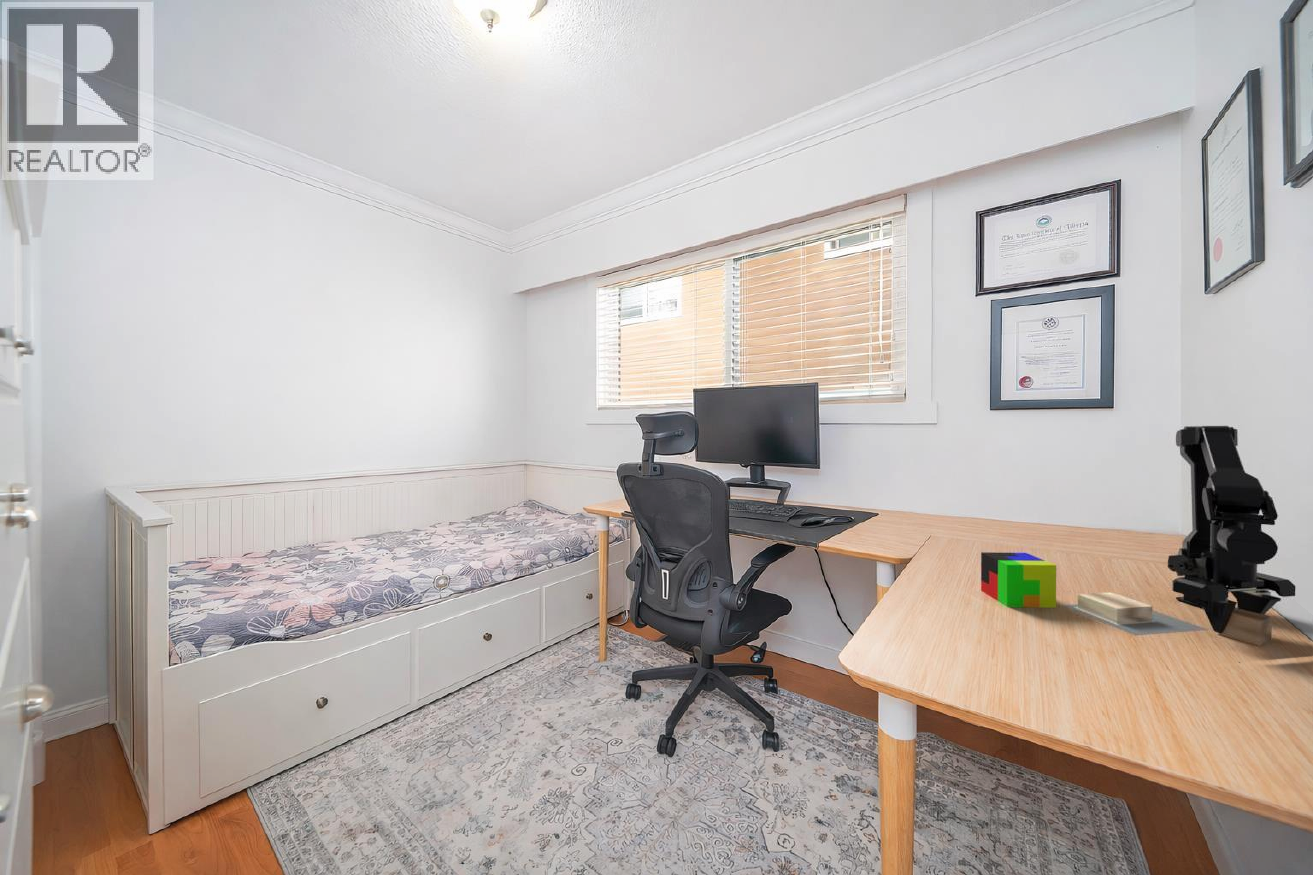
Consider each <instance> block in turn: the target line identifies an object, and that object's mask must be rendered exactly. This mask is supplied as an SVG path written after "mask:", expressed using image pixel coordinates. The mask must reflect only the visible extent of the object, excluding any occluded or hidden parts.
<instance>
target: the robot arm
mask: <svg viewBox="0 0 1313 875" xmlns="http://www.w3.org/2000/svg"><path fill="white" fill-rule="evenodd" d="M1238 436H1239V434H1238V429H1237V428H1235V427H1233V426H1228V425H1202V426H1198V425H1197V426H1196V425H1194V426H1186V425H1185V426H1184V427H1183V428H1182V429H1179V430H1176V434H1175V444H1176V445H1175V446H1177V447H1179V453H1180V454H1179V455H1180V456H1181V457H1182V458H1183V460H1185V461H1186V462H1187V464H1188V465H1189V466H1190V484H1191V485H1190V487H1191V488H1190V489H1191V492H1190V493H1191V517H1192V518H1191V524H1192V525H1191V526H1192V527H1191V528H1192V530H1191V532H1189V533H1188V535H1187V536H1185V538H1184V539H1183V540H1182V543H1181V544H1182V545H1181V546H1182V547H1181V548H1180V547H1179V549H1178V552H1177V554H1173V555H1172V554H1171V555H1168V558H1167V568H1168V569H1169V570H1170V571H1171V572H1175V574H1176V575H1177V577H1176V578H1175V579H1173V580H1172V581H1171V582H1172V586H1171V587H1172V588H1171V591H1172V592H1174V593H1177V594H1181V595H1182V596H1176V597H1175V599H1176V600H1178V601H1180V602H1183V603H1187V604H1189V605H1193V606H1196V607H1198V608H1199V607H1200V608H1202V609H1203V610H1204V613H1205V615H1206V617H1207V619H1208V621H1209V624H1210V626H1211V628H1212V631H1213V632H1215V633H1217V634H1219V633H1223V631H1224V630H1225V628H1226V626H1227V624H1228V621H1229V619H1230V617H1231V615H1232V612H1233V610H1234V608H1236V605H1237V608H1238V609H1242V610H1246V611H1250V612H1255V613H1259V614H1263V615H1266V614H1267V612H1269V610H1271V608H1273V607H1274V606H1275V605H1276V604H1277V603H1279V602H1281V601H1282V598H1281V597H1283V598H1288V597H1295V596H1296V585H1295V584H1294V583H1293V582H1292V581H1291V580H1290V579H1286V578H1282V577H1279V576H1278V577H1277V576H1274V575H1271V574H1266V573H1265V574H1264V573H1262V572H1261V573H1260V572H1258V565H1265V564H1266V562H1267V561H1270V560H1271V559H1272V558H1274V557H1275V556H1276V554H1278V550H1279V546H1278V544H1277V542H1276V540H1275V539H1274V538H1273V537H1272V536H1270V535H1269V534H1268V533H1266V532H1265V531H1263V530H1262V525H1266V526H1267V525H1268V526H1275V525H1276V521H1277V519H1278V517H1279V515H1278V512H1277V509H1276V505H1275V502H1274V500H1273V497H1272V496H1270V495H1269V494H1270V493H1269V492H1268V491H1267V490H1264V487H1263V485H1262V484H1261V482H1260V479H1258V478H1257V477H1255V476H1254V475H1251V474H1249V473H1248V472H1246V471H1245V469H1244V465H1243V462H1242V460H1241V457H1240V455H1239V452H1238V449H1237V447H1238V446H1239V445H1238V444H1239V443H1238V440H1239V438H1238ZM1260 512H1261V513H1262V514H1260ZM1271 591H1272V592H1275V594H1277V595H1278V596H1279V597H1277V596H1274V595H1272V592H1271ZM1230 593H1231V595H1232V596H1233V597H1234V598H1235V599H1236V601H1233V600H1230V599H1229V594H1230Z"/></svg>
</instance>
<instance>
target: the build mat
mask: <svg viewBox="0 0 1313 875" xmlns="http://www.w3.org/2000/svg"><path fill="white" fill-rule="evenodd" d="M1060 606H1062V607H1064V608H1066V609H1068V610H1071V611H1073V612H1076V613H1079V614H1081V615H1083V616H1087V617H1089V618H1092V619H1093V620H1096V621H1098V622H1100V623H1101V622H1102V623H1103V624H1106V625H1109V626H1111V627H1114V628H1115V629H1119V630H1120V631H1124V632H1126V633H1129V634H1131V635H1134V636H1144V635H1160V634H1169V633H1171V634H1173V633H1183V632H1184V633H1185V632H1186V633H1187V632H1198V631H1209V628H1205V627H1202V626H1199V625H1196V624H1193V623H1191V622H1188V621H1184V620H1183V619H1180V618H1177V617H1174V616H1170V615H1167V614H1164V613H1162V612H1159V611H1156V610H1153V609H1152V621H1144V622H1131V623H1114V622H1112V621H1109V620H1107V619H1104V618H1102V617H1099V616H1097V615H1094V614H1092V613H1089V612H1086V611H1084V610H1081V609H1079V608H1078V603H1076V604H1062V605H1060Z"/></svg>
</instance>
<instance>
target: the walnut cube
mask: <svg viewBox="0 0 1313 875" xmlns="http://www.w3.org/2000/svg"><path fill="white" fill-rule="evenodd" d="M1272 625H1273V616H1271V615H1267V614H1264V615H1263V614H1259V613H1255V612H1250V611H1246V610H1242V609H1238V607H1235V608H1234V610H1233V612H1232V615H1231V617H1230V619H1229V621H1228V624H1227V626H1226V628H1225V630H1224V631H1223V633H1218V635H1220V636H1223V637H1226V638H1230V639H1234V640H1237V641H1241V642H1245V643H1249V644H1251V645H1255V646H1259V647H1260V646H1261V645H1264V644H1266V643H1269V642H1270V641H1272V633H1273V632H1272V631H1273V630H1272V627H1273V626H1272Z"/></svg>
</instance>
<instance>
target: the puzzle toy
mask: <svg viewBox="0 0 1313 875" xmlns="http://www.w3.org/2000/svg"><path fill="white" fill-rule="evenodd" d="M980 564H981V565H980V575H981V576H980V578H981V580H980V590H981V592H983V593H984V594H986V595H987V596H989V597H990V598H993V599H994V600H995V601H996V602H999V603H1000V604H1002V605H1003V606H1005V607H1007V608H1012V607H1013V608H1057V565H1056V564H1054V563H1052V562H1050V561H1047V560H1044V559H1042V558H1040V557H1037V556H1035V555H1032V554H1030V553H1027V552H994V551H993V552H992V551H991V552H990V551H989V552H980Z"/></svg>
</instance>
